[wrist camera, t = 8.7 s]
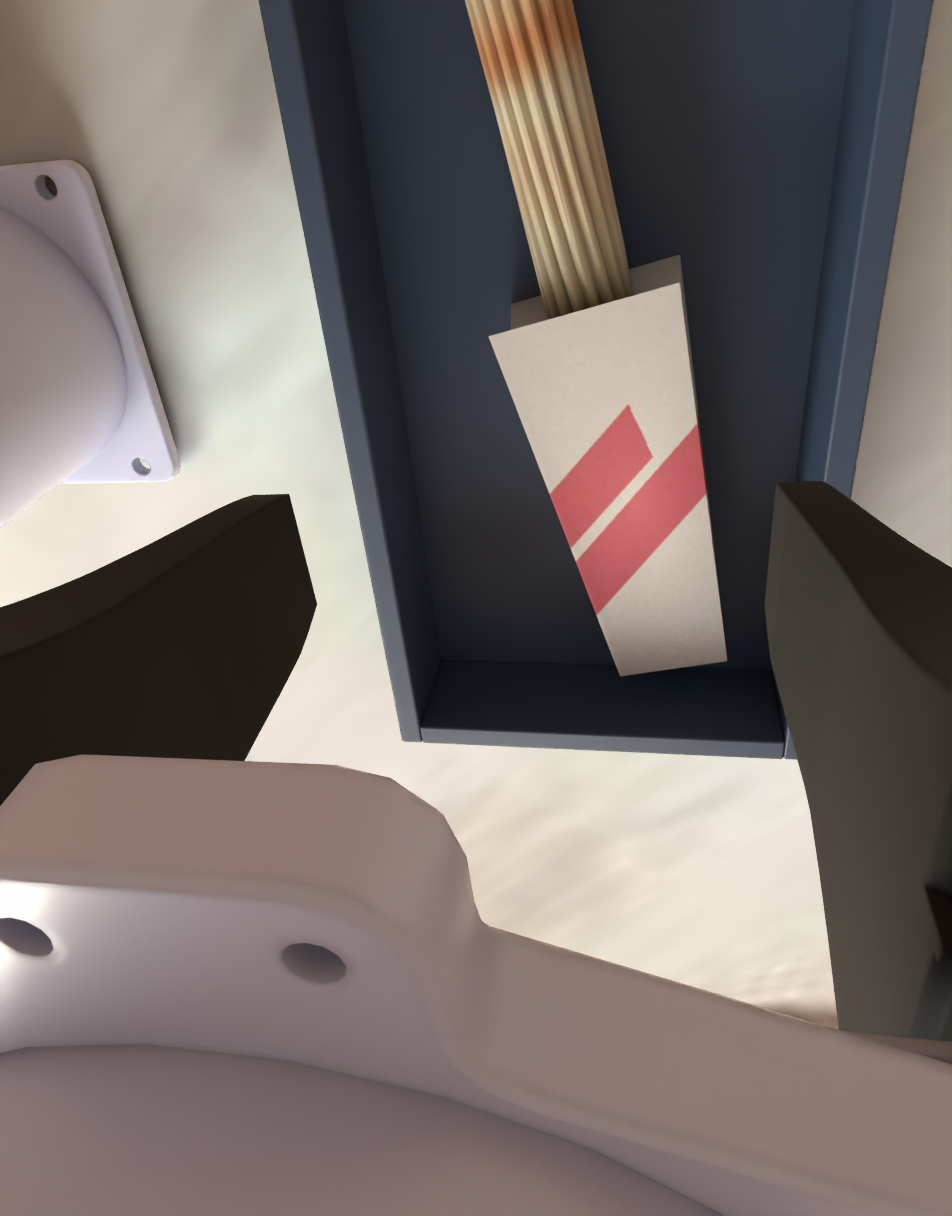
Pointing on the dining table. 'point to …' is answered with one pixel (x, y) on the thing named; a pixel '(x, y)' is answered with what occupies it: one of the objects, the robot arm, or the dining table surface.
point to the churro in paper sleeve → (600, 357)
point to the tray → (505, 274)
